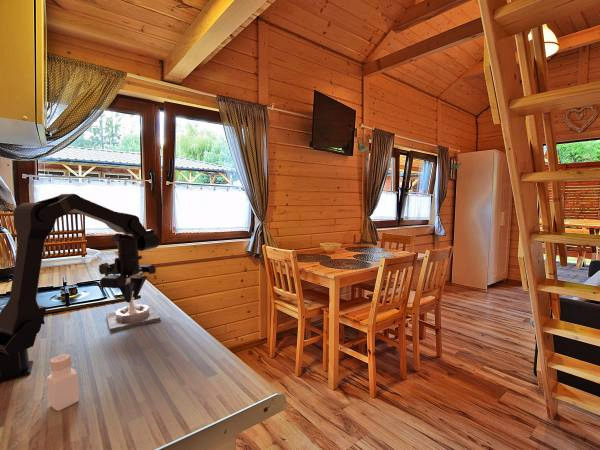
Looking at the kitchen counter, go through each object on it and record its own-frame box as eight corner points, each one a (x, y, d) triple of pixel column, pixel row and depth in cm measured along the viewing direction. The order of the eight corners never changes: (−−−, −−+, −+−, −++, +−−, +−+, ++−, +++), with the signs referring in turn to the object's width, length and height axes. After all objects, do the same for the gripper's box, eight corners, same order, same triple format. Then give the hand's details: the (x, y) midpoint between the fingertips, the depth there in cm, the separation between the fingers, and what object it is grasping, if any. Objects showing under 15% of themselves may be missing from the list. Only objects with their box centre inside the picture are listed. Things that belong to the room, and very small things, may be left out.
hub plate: (160, 320, 101) (159, 311, 100) (110, 332, 92) (109, 322, 92) (152, 307, 112) (151, 299, 111) (106, 317, 104) (105, 308, 103)
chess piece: (121, 319, 99) (118, 289, 98) (126, 313, 104) (123, 284, 102) (138, 317, 100) (136, 287, 99) (142, 311, 105) (139, 282, 104)
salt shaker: (57, 413, 59) (52, 365, 58) (48, 405, 61) (43, 360, 60) (81, 401, 62) (76, 356, 61) (71, 394, 64) (67, 350, 63)
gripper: (127, 248, 110) (129, 290, 112) (81, 259, 92) (86, 310, 94) (155, 248, 108) (157, 292, 110) (115, 260, 90) (118, 312, 92)
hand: (131, 300), depth 101 cm, fingers open, 3 cm apart
